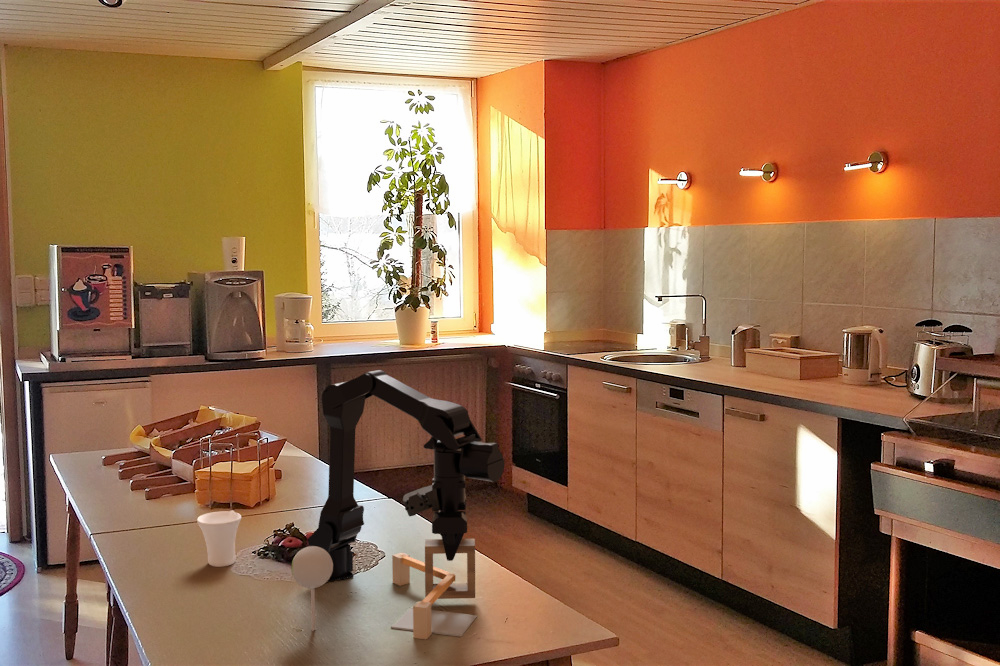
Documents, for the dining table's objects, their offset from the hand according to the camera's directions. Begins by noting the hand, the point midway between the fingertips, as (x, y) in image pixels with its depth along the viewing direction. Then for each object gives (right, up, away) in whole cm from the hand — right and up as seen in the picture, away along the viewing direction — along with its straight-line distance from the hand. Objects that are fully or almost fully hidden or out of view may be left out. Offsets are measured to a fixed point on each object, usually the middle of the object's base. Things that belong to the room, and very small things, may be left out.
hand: (450, 556), depth 183 cm
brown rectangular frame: (0, -7, +1) cm, 7 cm away
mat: (-2, -10, -7) cm, 13 cm away
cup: (-49, -7, +24) cm, 55 cm away
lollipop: (-23, -11, -10) cm, 28 cm away
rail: (-6, -9, 0) cm, 11 cm away
